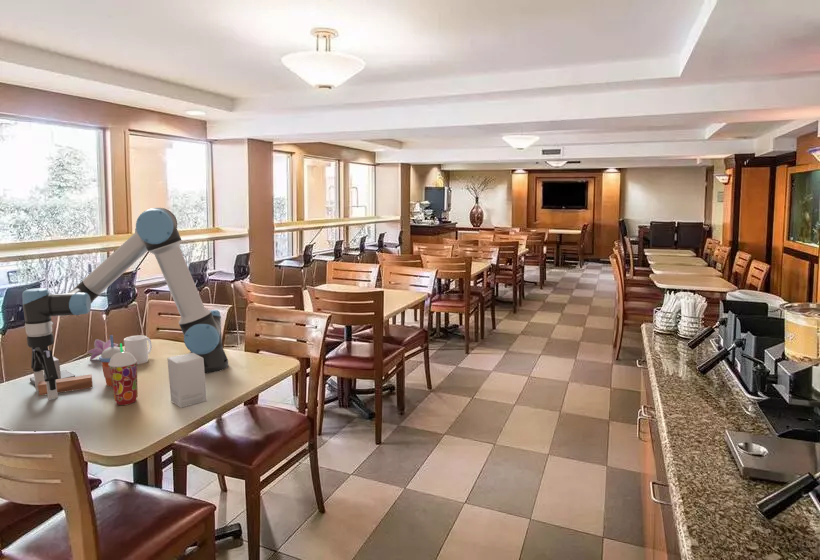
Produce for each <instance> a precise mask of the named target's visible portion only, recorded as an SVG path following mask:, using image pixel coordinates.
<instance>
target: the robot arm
mask: <svg viewBox="0 0 820 560" xmlns="http://www.w3.org/2000/svg"><path fill="white" fill-rule="evenodd" d="M181 243H182V238H181V236H180V233H179V230H178V220H177V217H176V216H175V214H174V213H173V212H172V211H170V210H169V209H167V208H165V207H164V208H163V207H152V208H148V209H146V210H144V211H143V212H141V213H140V214H139V215H138V217H137V219H136V222H135V229H134V233H133V234H132V235H130V237H128V239H126V240H125V241H124V242H123V243H122V244H121V245H120V246H119V247H118V248H117V249H116V250H114V251H113V252H112V253H111V254H110V255H109V256H108V257H107V258H106V259H105V260H104V261H103V262H101V263H100V264H99V265H98V266H96V268H95V269H94V270H93V271H92V272H90V273H89V274H88V275H87V276H86V277H85V278H84V279H82V281H80V283H78V284H77V285H76V286H75V287H74V288H73V289H71V290H70V291H68V292H66V293H50V291H49V289H48V288H45V287H37V288H28V289H26V290H24V291H22V294H21V296H22V308H23V309H22V310H23V316H24V327H25V334H26V335H27V336H26V341H27V343H26V345H27V347H29V348H31V361H30V362H31V364H30V365H31V366H30V368H31V369H32V371H33V375H34V376H33V377H34V378H35V385H34V386H35V390H36V391H39V390H38V384H39V382H42V381H44V372H45V375H46V378H47V379H45V382H46V385H47V399H48V401H49V400H50V401H51V400H54V399H58V398H59V393H57V385H56V379H58V376H57V372H56V368H55V364H54V360H53V357H54V356H53V351H52V349H51V350H49V346H52V345H54V344H55V340H54V333H52V332H53V326H54V322H52V317H59V316H61V317H62V316H63V317H64V316H81V315H87V314H89V313H90V311H91V309H92V304H93V302H94V301H95V300H96V299H97V298H98V297H99V296H100V295H101V294H103V292H105V291H106V290H107V289H108V287H110V286H111V285H112V284H113V283H114V282H115V281H117V279H119V277H121V276H122V275H123V274H124V273H126V271H127V270H128V269H130V268H131V267H132V266H133V265H134V264H136V262H137V261H139V259H140V258H142V257H143V256H144V255H145V254H146V253H147V252H148V253H150V254H153V255H154V257H155V259H156V261H157V265H158V266H159V268H160V270H161V273H162V276H163V279H164V281H165V282H166V285H167V287H168V290H169V292H170V295H171V296H172V299H173V301H174V304H175V306H176V309H177V311H178V313H179V316H180V318H179V321H178V325H179V328H180V330H181V332H182V334H183V335H182V336H183V343H184V345H185V347H186V348H187V350H189V351H190V353H195V354H197V355H199V356H201V357H202V358H204V371H205V374H212V373H213V374H214V373H217V372H221V371H223V370H225V369H226V370H227V368H228V367H229V360H228V357H227V354H226V352H225V350H224V347H223V334H222V322H221V321H222V316H221V312H220V310H218V309H207V308H205V306H204V303H203V300H202V298H201V295H200V293H199V290H198V288H197V286H196V283H195V281H194V279H193V277H192V273H191V271H190V269H189V266H188V265H187V262H186V260H185V257H184V255H183V252H182V250H181V247H180V245H181Z"/></svg>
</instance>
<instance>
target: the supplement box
mask: <svg viewBox="0 0 820 560" xmlns="http://www.w3.org/2000/svg"><path fill="white" fill-rule="evenodd" d="M167 369H168V382H169V392H170V401H171V402H172V403H173V404H175V405H176V406H178V407H179V408H184V407H188V406H193V405H197V404H200V403H203V402H207V387H206V375H205V371H204V358H202V357H201V356H199V355H197V354H195V353H191V352H189V353H184V354H179V355H174V356H170V357H167Z"/></svg>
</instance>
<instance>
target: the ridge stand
mask: <svg viewBox="0 0 820 560" xmlns="http://www.w3.org/2000/svg"><path fill="white" fill-rule="evenodd" d="M53 360H54V364H55V368H56V372H57V376H58V379H63V378H70V377H76V374H74V373H72V372H70V371H69V370H67V369H64V370H61V366H60V359H59V358H57V357H55V356H53ZM43 372H44V371H43ZM45 379H47V378H46V375H45V372H44V381H45ZM30 381H31V382H32V383H31V382H30ZM29 382H30V383H31V384H33V385H34V384H35V378H34V376H32V377H29Z"/></svg>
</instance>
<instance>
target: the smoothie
mask: <svg viewBox="0 0 820 560" xmlns="http://www.w3.org/2000/svg"><path fill="white" fill-rule="evenodd" d="M119 347H120V352H118V353H116V354H114V355H113V356H112V358H111V360H110V362H109V364H108V365H109V370H110V376H111V382H112V386H111V387H112V392H113V397H114V401H115V402H116V404H117V405H119V406H126V405H127V404H128V405H131V404H134V403H135V402H137V398H138V364H137V360H136V359H135V358H134V356H133V355H132V354H131V353H129V352H126V351H125V350H124V348H123V343H121V342H120V343H119ZM123 350H124V351H123Z"/></svg>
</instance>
